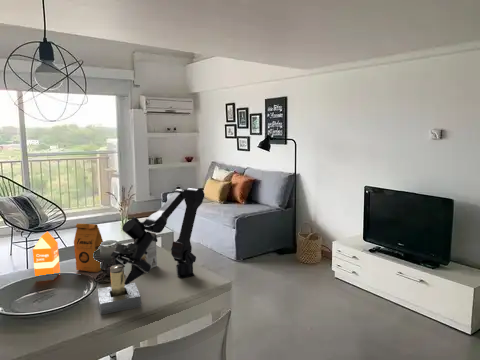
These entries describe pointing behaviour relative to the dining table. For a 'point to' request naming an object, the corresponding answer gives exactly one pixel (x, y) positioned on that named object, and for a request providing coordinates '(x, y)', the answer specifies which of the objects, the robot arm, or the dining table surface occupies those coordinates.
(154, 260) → the coffee box
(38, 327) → the dining table surface
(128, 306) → the bore housing
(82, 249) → the coffee package
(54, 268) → the orange juice
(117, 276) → the brass plug
